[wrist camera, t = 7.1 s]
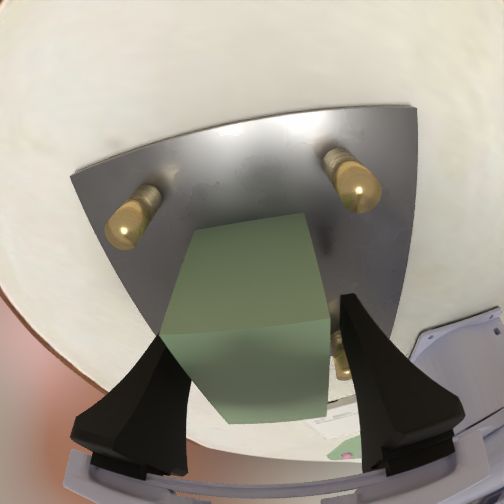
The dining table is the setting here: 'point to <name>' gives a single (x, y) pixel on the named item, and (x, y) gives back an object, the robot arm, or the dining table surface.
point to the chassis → (267, 202)
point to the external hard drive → (337, 419)
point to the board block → (253, 321)
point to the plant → (347, 450)
